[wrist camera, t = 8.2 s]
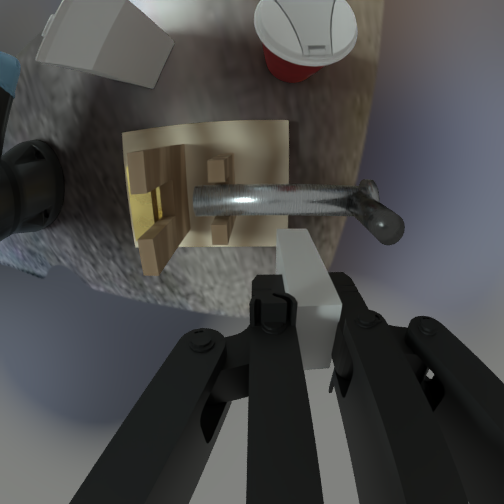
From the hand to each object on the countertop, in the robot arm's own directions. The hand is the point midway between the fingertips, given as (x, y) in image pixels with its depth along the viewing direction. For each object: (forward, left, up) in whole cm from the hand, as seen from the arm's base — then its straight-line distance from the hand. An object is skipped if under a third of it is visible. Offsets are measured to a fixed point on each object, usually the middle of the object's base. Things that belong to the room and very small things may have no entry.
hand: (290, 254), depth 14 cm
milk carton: (-17, +18, -23) cm, 33 cm away
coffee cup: (+2, +16, -22) cm, 28 cm away
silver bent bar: (+1, 0, -15) cm, 15 cm away
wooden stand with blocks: (-9, 0, -22) cm, 24 cm away
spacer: (-14, 0, -17) cm, 22 cm away
